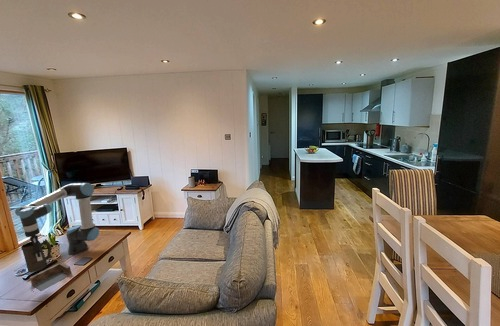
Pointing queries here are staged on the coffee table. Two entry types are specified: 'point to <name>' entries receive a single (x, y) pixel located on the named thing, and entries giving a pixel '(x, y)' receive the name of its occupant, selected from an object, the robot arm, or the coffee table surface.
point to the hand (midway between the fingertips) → (39, 257)
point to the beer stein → (31, 258)
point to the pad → (50, 281)
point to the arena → (50, 272)
